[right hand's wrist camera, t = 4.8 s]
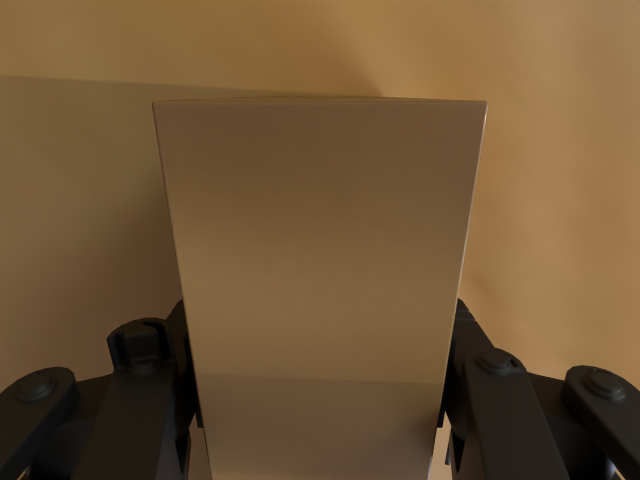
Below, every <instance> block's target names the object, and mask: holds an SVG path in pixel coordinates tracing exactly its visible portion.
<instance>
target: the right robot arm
mask: <svg viewBox="0 0 640 480" xmlns="http://www.w3.org/2000/svg"><path fill="white" fill-rule="evenodd" d="M107 343H108V347H109V351H110V354H111V358H112V362H113V366H114V371H113V374H109V375H106V376H102V377H97V378H93V379H88V380H84V381H79V382H76V379H75V376H74V373H73V372H72V371H71V370H70V369H68V368H63V367H52V368H45V369H42V370H39V371H35V372H32V373H30V374H28V375H26V376H24V377H22V378H20V379H18V380H17V381H15V382H14V383H13V384H11V385H10V386H9V387H7V388H6V389H5V390H4V391H3V392H2V393H1V394H0V480H17V479H18V477H19V476H20V475H21V474H22V472H23V471H24V470H25V472H26V473H25V474H24V476H23V477H22V478H21V480H188V470H189V460H190V450H191V437H190V431H189V426H190V424H191V421H192V419H193V416H194V414H195V413H196V419H197V425H198V428H203V423H202V417H201V410H200V404H199V398H198V392H197V385H196V379H195V373H194V366H193V360H192V354H191V348H190V341H189V335H188V329H187V322H186V316H185V310H184V304H183V299H182V300H180V301H179V302H178V303H177V304H176V306H175V307H174V309H173V310H172V312H171V314H169V316H168V317H167V319H166V320H164V319H160V318H142V319H138V320H133V321H131V322H128V323H126V324H123V325H121V326H120V327H118V328H117V329H115V330H114V331H112V332H111V334H110V335H109V336H108V337H107ZM445 411H446V414H447V416H448V419H449V421H450V424H451V431H450V437H449V443H448V448H447V454H446V460H445V464H446V465H450V460H451V469H452V480H621V478H620V477H619V476H618V475H617V473H616V472H615V470H616V468H617V469H618V471H619V472H620V473H621V474H622V476H623V477H624V478H625V479H626V480H640V391H639V390H638V389H637V388H635V387H634V386H633V385H632V384H630V383H629V382H628V381H626V380H625V379H624V378H622V377H620V376H618V375H616V374H614V373H612V372H610V371H607V370H605V369H601V368H597V367H593V366H584V365H581V366H575V367H572V368H571V369H569V370H568V371H567V373H566V377H565V380H559V379H555V378H550V377H545V376H541V375H536V374H533V373H529V372H527V371H526V368H525V367H524V366H523V364H522V363H521V361H520V360H518V359H517V358H516V357H514V356H513V355H512V354H510V353H508V352H506V351H504V350H501V349H498V348H495V347H494V346H493V345H492V343H491V342H490V340H489V339H488V337H487V336H486V334H485V333H484V331H483V330H482V329H481V327H480V326H479V324H478V323H477V321H475V318H474V317H473V316H472V314H471V313H469V310H468V308H467V307H466V305H465V304H464V302H463V301H462V300H460V299H459V298H458V299H457V305H456V312H455V318H454V324H453V330H452V337H451V343H450V349H449V355H448V362H447V368H446V374H445V380H444V387H443V393H442V399H441V405H440V412H439V418H438V424H437V428H442V427H443V421H444V415H445Z"/></svg>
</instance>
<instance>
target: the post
mask: <svg viewBox="0 0 640 480" xmlns="http://www.w3.org/2000/svg"><path fill="white" fill-rule="evenodd" d="M152 109H153V115H154V121H155V128H156V134H157V140H158V147H159V153H160V159H161V165H162V172H163V178H164V184H165V190H166V197H167V203H168V209H169V216H170V222H171V228H172V234H173V241H174V247H175V253H176V260H177V266H178V272H179V278H180V285H181V291H182V297H183V304H184V310H185V316H186V322H187V329H188V335H189V341H190V348H191V354H192V360H193V366H194V373H195V379H196V385H197V392H198V398H199V404H200V410H201V417H202V423H203V429H204V436H205V442H206V448H207V454H208V461H209V467H210V473H211V479H212V480H429V474H430V468H431V462H432V456H433V449H434V443H435V437H436V431H437V424H438V418H439V412H440V405H441V399H442V393H443V387H444V380H445V374H446V368H447V362H448V355H449V349H450V343H451V337H452V330H453V324H454V318H455V312H456V305H457V299H458V293H459V287H460V280H461V274H462V268H463V262H464V255H465V249H466V243H467V237H468V230H469V224H470V218H471V211H472V205H473V199H474V193H475V186H476V180H477V174H478V168H479V161H480V155H481V149H482V143H483V136H484V130H485V124H486V118H487V111H488V102H486V101H472V100H447V99H422V98H396V97H243V98H218V99H193V100H167V101H154V102H153V103H152Z"/></svg>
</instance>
